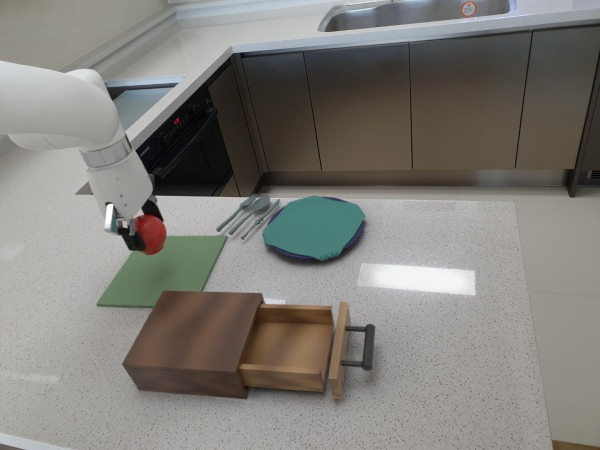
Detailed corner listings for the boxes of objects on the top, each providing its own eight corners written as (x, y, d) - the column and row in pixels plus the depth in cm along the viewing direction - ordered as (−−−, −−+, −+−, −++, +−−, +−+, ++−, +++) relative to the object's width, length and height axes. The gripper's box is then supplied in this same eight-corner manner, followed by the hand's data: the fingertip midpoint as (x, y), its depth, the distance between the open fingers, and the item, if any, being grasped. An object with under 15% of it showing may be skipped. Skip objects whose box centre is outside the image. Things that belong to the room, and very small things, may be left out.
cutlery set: (336, 277, 82) (335, 267, 81) (209, 239, 97) (206, 230, 95) (380, 214, 95) (379, 205, 94) (261, 188, 109) (260, 180, 108)
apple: (162, 261, 82) (147, 228, 78) (128, 260, 84) (111, 229, 80) (177, 236, 88) (164, 204, 83) (145, 236, 89) (130, 205, 85)
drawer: (377, 323, 72) (375, 302, 69) (372, 402, 61) (369, 381, 59) (252, 318, 77) (245, 298, 74) (228, 390, 67) (219, 370, 64)
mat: (193, 309, 82) (192, 307, 82) (97, 306, 87) (95, 303, 87) (227, 237, 97) (227, 235, 97) (144, 238, 102) (143, 236, 102)
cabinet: (270, 320, 77) (262, 292, 73) (246, 399, 66) (235, 372, 62) (175, 316, 81) (163, 290, 77) (138, 390, 70) (121, 364, 66)
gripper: (113, 126, 81) (149, 207, 92) (55, 181, 68) (105, 268, 78) (151, 123, 79) (183, 207, 90) (99, 179, 66) (144, 269, 77)
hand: (147, 235), depth 84 cm, fingers closed on apple, 7 cm apart
